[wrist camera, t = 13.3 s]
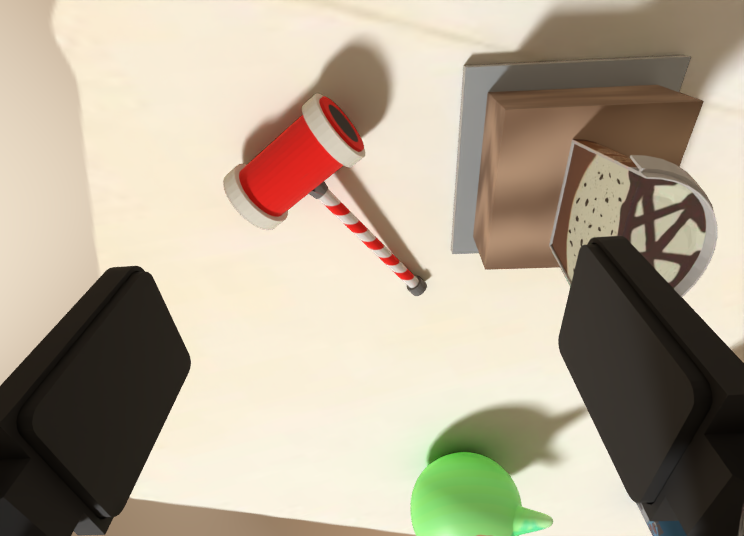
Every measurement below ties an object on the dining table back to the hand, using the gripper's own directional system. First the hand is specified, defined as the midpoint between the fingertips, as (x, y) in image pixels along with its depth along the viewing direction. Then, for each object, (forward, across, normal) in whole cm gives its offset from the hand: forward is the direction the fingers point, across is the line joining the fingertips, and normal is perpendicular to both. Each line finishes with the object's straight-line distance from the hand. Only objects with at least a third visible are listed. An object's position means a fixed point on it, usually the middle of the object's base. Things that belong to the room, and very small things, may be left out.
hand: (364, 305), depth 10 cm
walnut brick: (+30, -16, +10) cm, 36 cm away
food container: (+24, -17, +10) cm, 32 cm away
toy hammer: (+32, +4, +12) cm, 34 cm away
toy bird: (+31, -9, +60) cm, 68 cm away
